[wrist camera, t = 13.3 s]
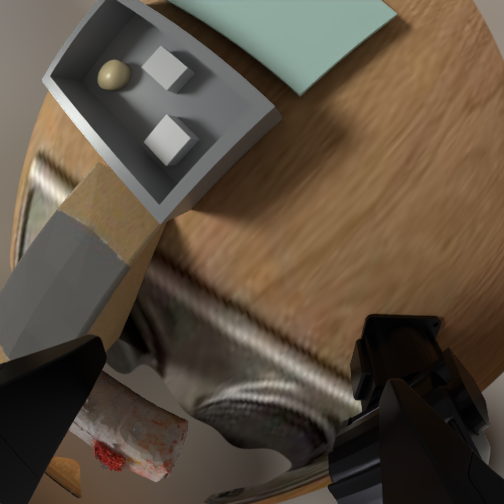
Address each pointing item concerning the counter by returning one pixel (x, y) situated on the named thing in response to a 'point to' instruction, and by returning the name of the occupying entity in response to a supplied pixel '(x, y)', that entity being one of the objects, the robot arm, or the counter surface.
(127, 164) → the box
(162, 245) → the counter surface
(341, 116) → the counter surface
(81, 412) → the food item
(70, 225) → the sandwich container
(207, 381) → the counter surface
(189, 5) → the lid
